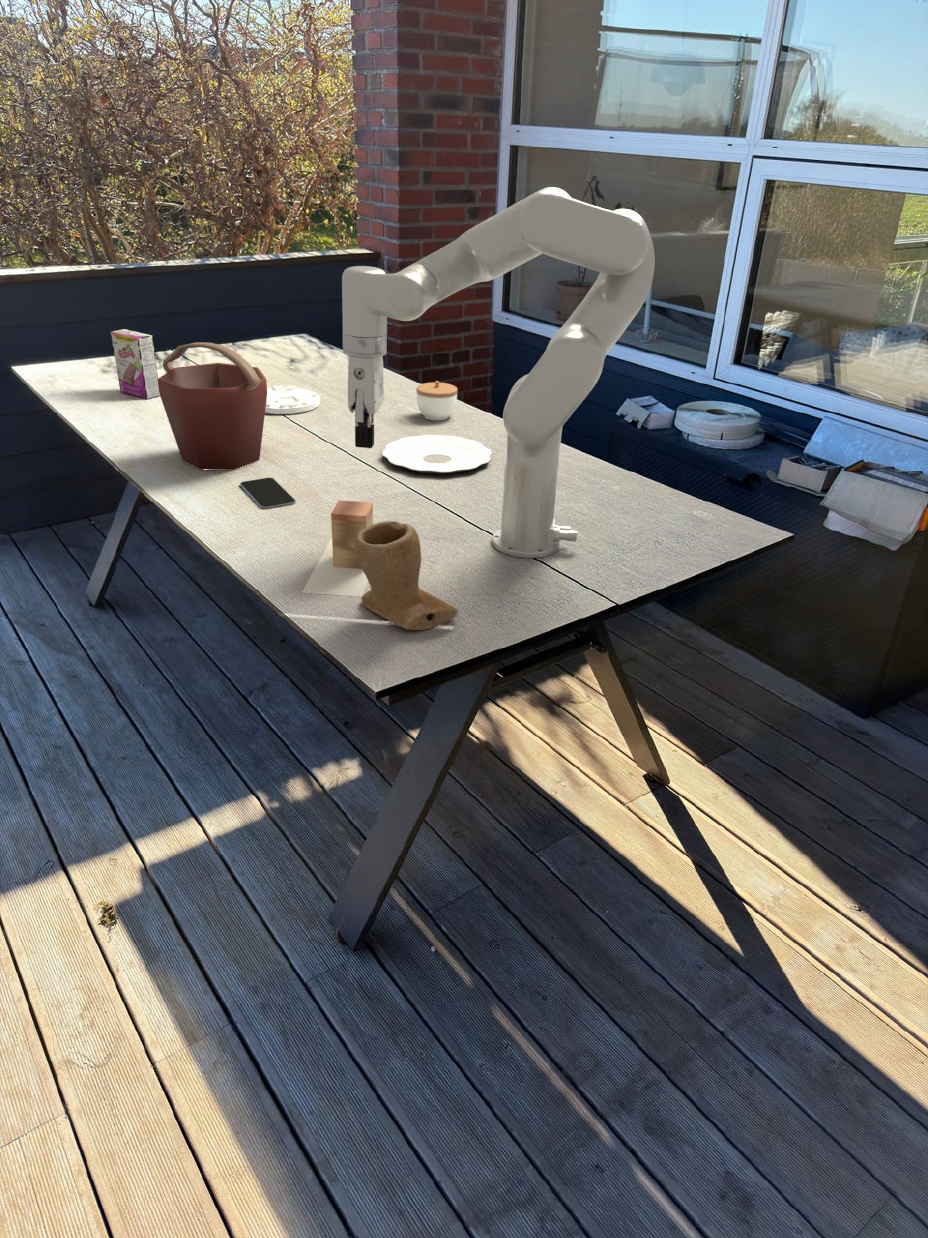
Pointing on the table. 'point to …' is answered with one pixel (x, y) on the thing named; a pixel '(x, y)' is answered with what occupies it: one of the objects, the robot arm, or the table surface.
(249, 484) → the smartphone
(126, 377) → the candy bar box
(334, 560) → the oak block
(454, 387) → the lidded jar
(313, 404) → the white round plaque
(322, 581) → the mat
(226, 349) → the bucket
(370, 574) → the clay platform pipe
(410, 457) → the plate
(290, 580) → the table surface
